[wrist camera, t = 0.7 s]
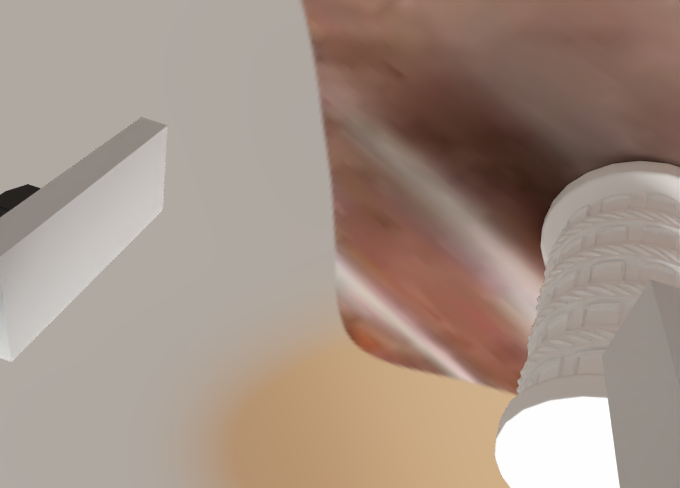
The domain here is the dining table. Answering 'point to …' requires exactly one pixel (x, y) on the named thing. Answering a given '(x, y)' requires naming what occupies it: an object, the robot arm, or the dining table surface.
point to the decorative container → (587, 321)
